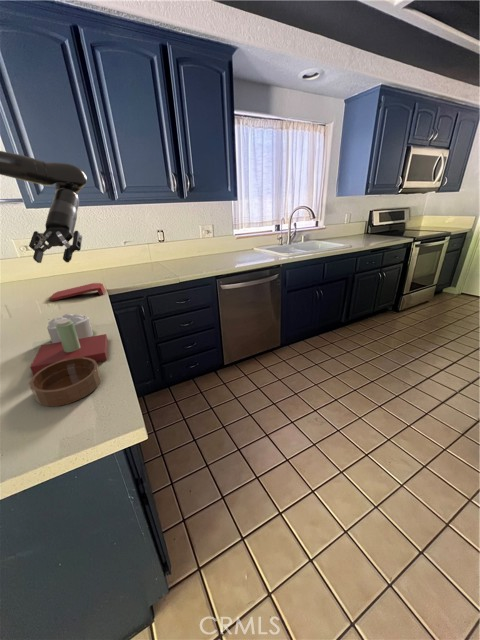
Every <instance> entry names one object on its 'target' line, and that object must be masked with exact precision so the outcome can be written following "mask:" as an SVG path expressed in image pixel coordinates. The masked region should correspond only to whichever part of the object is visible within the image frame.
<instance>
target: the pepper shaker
mask: <svg viewBox="0 0 480 640" xmlns="http://www.w3.org/2000/svg"><path fill="white" fill-rule="evenodd" d="M55 326H56V329H57V332H58V335H59V338H60V341H61V344H62V347H63V350H64V352H73V351H76V350H78V349H79V348H80V347H81V346H80V343H79V340H78V336H77V333H76V330H75V326H74V323H73V321H71V320H70V319H62V320H59V321H58V322H57V324H56V325H55Z"/></svg>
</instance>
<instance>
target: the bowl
mask: <svg viewBox="0 0 480 640" xmlns="http://www.w3.org/2000/svg"><path fill="white" fill-rule="evenodd" d="M101 381H102V375H101V372H100V369H99V364H98V362H96V361H95V360H93V359H91V358H85V357H77V358H70V359H65V360H61V361H58V362H55V363H53V364H51V365H49V366H47V367H45V368H43V369H42V370H40V371H39V372H37V373H36V374H35V375H33V376H32V377H31V379H30V381H29V389H30V390H31V393H32V396H33V398H34V400H35V402H36V403H38V404H39V405H41V406H45V407H60V406H64V405H69V404H72V403H74V402H77V401H79V400H81V399H83V398H85V397H87V396H88V395H90V394H91V393H92V392H93V391H95V390H96V389H97V388H98V387H99V385H100V384H101Z"/></svg>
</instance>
